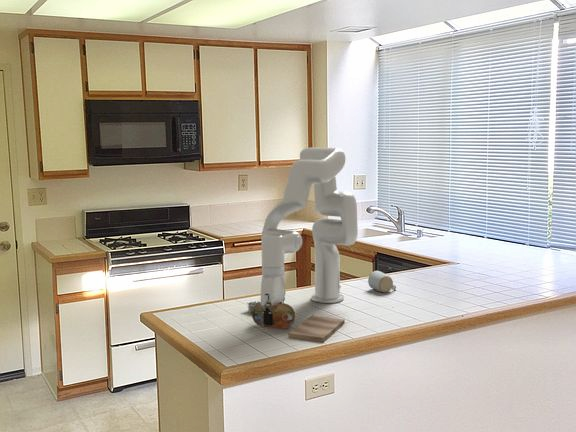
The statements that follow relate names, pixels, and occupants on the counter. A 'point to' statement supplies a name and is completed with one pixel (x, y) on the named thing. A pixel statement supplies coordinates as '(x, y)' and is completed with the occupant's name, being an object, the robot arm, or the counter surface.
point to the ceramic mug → (380, 282)
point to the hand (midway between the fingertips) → (274, 320)
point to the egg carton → (252, 306)
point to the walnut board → (317, 328)
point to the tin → (275, 316)
